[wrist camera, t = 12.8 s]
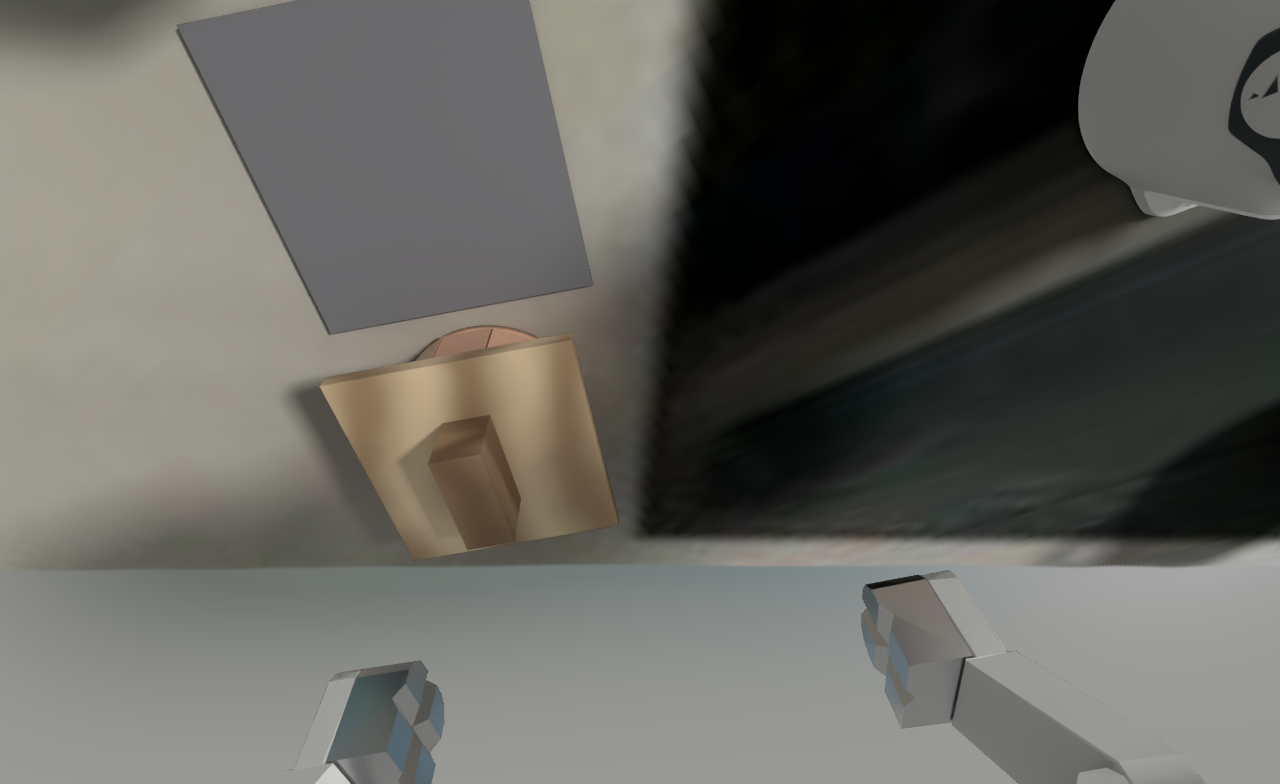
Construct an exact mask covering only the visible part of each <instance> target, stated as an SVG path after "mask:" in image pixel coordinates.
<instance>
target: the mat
mask: <svg viewBox="0 0 1280 784" xmlns="http://www.w3.org/2000/svg"><path fill="white" fill-rule="evenodd" d="M177 27H178V29H179V31H180V33H181V35H182V37H183V39H184V41H185V43H186V45H187V47H188V49H189V51H190V53H191V55H192V57H193V59H194V61H195V63H196V65H197V67H198V69H199V71H200V73H201V75H202V77H203V79H204V81H205V83H206V85H207V87H208V89H209V91H210V93H211V95H212V97H213V99H214V101H215V103H216V105H217V107H218V109H219V111H220V113H221V115H222V117H223V119H224V121H225V123H226V125H227V127H228V129H229V131H230V133H231V135H232V137H233V139H234V141H235V143H236V145H237V147H238V149H239V151H240V153H241V155H242V157H243V159H244V161H245V163H246V165H247V167H248V169H249V171H250V173H251V175H252V177H253V179H254V181H255V183H256V185H257V187H258V189H259V191H260V193H261V195H262V197H263V199H264V201H265V203H266V205H267V207H268V209H269V211H270V213H271V215H272V217H273V219H274V221H275V223H276V225H277V227H278V229H279V231H280V233H281V235H282V237H283V239H284V241H285V243H286V245H287V247H288V249H289V251H290V253H291V255H292V257H293V259H294V261H295V263H296V265H297V267H298V269H299V271H300V273H301V275H302V277H303V279H304V281H305V283H306V285H307V287H308V289H309V291H310V293H311V295H312V297H313V299H314V301H315V303H316V305H317V307H318V309H319V311H320V313H321V315H322V317H323V319H324V321H325V323H326V325H327V327H328V329H329V331H330V333H331V334H333V333H339V332H344V331H350V330H355V329H360V328H366V327H371V326H376V325H382V324H387V323H392V322H398V321H403V320H409V319H414V318H419V317H425V316H430V315H435V314H441V313H446V312H452V311H457V310H462V309H468V308H473V307H478V306H484V305H489V304H494V303H500V302H505V301H511V300H516V299H521V298H527V297H532V296H537V295H543V294H548V293H553V292H559V291H564V290H570V289H575V288H580V287H586V286H591V285H593V283H592V278H591V274H590V269H589V265H588V261H587V256H586V252H585V247H584V243H583V238H582V234H581V229H580V225H579V220H578V216H577V211H576V207H575V203H574V198H573V194H572V189H571V185H570V180H569V176H568V171H567V167H566V162H565V158H564V154H563V149H562V145H561V140H560V136H559V131H558V127H557V122H556V118H555V113H554V109H553V105H552V100H551V96H550V91H549V87H548V82H547V78H546V73H545V69H544V64H543V60H542V56H541V51H540V47H539V42H538V38H537V33H536V29H535V24H534V20H533V15H532V11H531V6H530V2H529V0H297V1H293V2H288V3H283V4H278V5H273V6H268V7H263V8H258V9H253V10H248V11H243V12H239V13H234V14H229V15H224V16H219V17H214V18H209V19H204V20H199V21H194V22H190V23H185V24H180V25H177Z"/></svg>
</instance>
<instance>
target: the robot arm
mask: <svg viewBox="0 0 1280 784" xmlns="http://www.w3.org/2000/svg"><path fill="white" fill-rule="evenodd" d="M1078 116H1079V125H1080V130H1081V134H1082V137H1083V140H1084V143H1085V145H1086V147H1087V149H1088V151H1089V153H1090V154H1091V156H1092V157H1093V159H1094V160H1095V161H1096V162H1097V163H1098V164H1099V165H1100V166H1101V167H1102V168H1103V169H1104V170H1106V171H1107V172H1109V173H1110V174H1112V175H1114V176H1116V177H1117V178H1119V179H1121V180H1122V181H1124V182H1125V183H1126V184H1127V185H1128V186H1129V187H1130V189H1131V191H1132V194H1133V196H1134V198H1135V200H1136V203H1137V204H1138V206H1139V208H1140V209H1141V210H1142V211H1143V212H1144V213H1145V214H1148V215H1152V216H1158V217H1167V216H1171V215H1174V214H1176V213H1179V212H1182V211H1185V210H1188V209H1190V208H1193V207H1196V206H1199V205H1200V206H1204V207H1209V208H1213V209H1218V210H1223V211H1227V212H1232V213H1237V214H1241V215H1246V216H1251V217H1256V218H1261V219H1280V0H1115V2H1114V3H1113V5H1112V7H1111V8H1110V10H1109V12H1108V13H1107V15H1106V17H1105V18H1104V20H1103V22H1102V24H1101V26H1100V28H1099V30H1098V32H1097V34H1096V36H1095V38H1094V41H1093V43H1092V46H1091V48H1090V51H1089V54H1088V56H1087V59H1086V63H1085V66H1084V69H1083V74H1082V78H1081V83H1080V89H1079V99H1078ZM862 599H863V601H864V603H865V605H866V607H867V609H866V610H865V611H864V612H863V613H862V614H861V627H862V632H863V638H864V642H865V645H866V648H867V651H868V654H869V656H870V659H871V661H872V663H873V666H874V667H875V668H876V669H877V670H879V671H880V672H881V673H883V674H884V675H885V676H886V682H885V693H886V695H887V697H888V700H889V702H890V704H891V706H892V708H893V711H894V713H895V715H896V717H897V720H898V722H899V724H900V726H901V728H902V729H903V728H911V727H918V726H925V725H933V724H941V723H948V722H952V725H953V726H954V727H955V728H956V729H957V730H958V731H959V732H960V733H962V734H963V735H964V736H965V737H966V738H967V739H968V740H970V741H971V742H972V743H973V744H974V745H975V746H976V747H978V748H979V749H980V750H981V751H982V752H983V753H984V754H985V755H987V756H988V757H989V758H990V759H991V760H992V761H993V762H994V763H996V764H997V765H998V766H999V767H1000V768H1001V769H1002V770H1004V771H1005V772H1006V773H1007V774H1008V775H1009V776H1010V777H1012V778H1013V779H1014V780H1015V781H1016V782H1017V783H1018V784H1206V783H1205V782H1204V780H1203V779H1202V778H1201V776H1200V775H1199V774H1198V773H1197V772H1196V770H1195V769H1194V768H1193V766H1192V765H1191V764H1190V763H1189V762H1188V760H1187V759H1186V758H1185V757H1184V755H1183V754H1182V753H1180V752H1178V751H1177V750H1175V749H1173V748H1172V747H1170V746H1169V745H1167V744H1166V743H1164V742H1162V741H1161V740H1159V739H1158V738H1156V737H1154V736H1153V735H1151V734H1149V733H1148V732H1146V731H1145V730H1143V729H1142V728H1140V727H1138V726H1137V725H1135V724H1134V723H1132V722H1130V721H1129V720H1127V719H1126V718H1124V717H1122V716H1121V715H1119V714H1118V713H1116V712H1114V711H1113V710H1111V709H1110V708H1108V707H1106V706H1105V705H1103V704H1102V703H1100V702H1098V701H1097V700H1095V699H1093V698H1092V697H1090V696H1088V695H1087V694H1085V693H1084V692H1082V691H1081V690H1079V689H1077V688H1076V687H1074V686H1073V685H1071V684H1069V683H1068V682H1066V681H1065V680H1063V679H1061V678H1060V677H1058V676H1057V675H1055V674H1053V673H1052V672H1050V671H1049V670H1047V669H1045V668H1044V667H1042V666H1041V665H1039V664H1037V663H1036V662H1034V661H1033V660H1031V659H1029V658H1028V657H1026V656H1025V655H1023V654H1021V653H1020V652H1018V651H1007V650H1006V649H1005V647H1004V646H1003V644H1002V643H1001V641H1000V640H999V638H998V637H997V635H996V634H995V632H994V631H993V629H992V628H991V626H990V625H989V623H988V622H987V620H986V619H985V617H984V616H983V614H982V613H981V611H980V610H979V608H978V607H977V606H976V604H975V603H974V601H973V599H972V598H971V596H970V595H969V593H968V592H967V591H966V589H965V588H964V586H963V585H962V583H961V582H960V580H959V579H958V577H957V576H956V575H955V574H954V573H952V572H951V571H941V572H936V573H931V574H926V575H921V576H920V575H914V576H909V577H903V578H898V579H893V580H887V581H882V582H876V583H872V584H866V585H865V586H864V588H863V595H862ZM427 673H428V670H427V669H426V667H425V666H424V664H423V663H422V661H414V662H408V663H401V664H394V665H387V666H381V667H374V668H367V669H360V670H354V671H348V672H342V673H337V674H336V675H335V676H334V677H333V678H332V679H331V681H330V682H329V683H328V685H327V688H326V690H325V693H324V695H323V698H322V700H321V703H320V705H319V708H318V710H317V713H316V715H315V718H314V720H313V723H312V725H311V728H310V730H309V733H308V735H307V738H306V740H305V743H304V745H303V747H302V750H301V752H300V755H299V757H298V760H297V762H296V765H295V767H294V769H290V770H286V771H285V772H284V773H283V774H282V775H281V776H280V777H279V778H278V779H277V780H276V781H275V782H274V783H273V784H431V783H432V778H433V774H434V769H435V763H434V761H433V758H432V756H431V754H430V752H431V751H432V749H433V748H434V747H435V746H436V744H437V743H438V742H439V740H440V739H441V736H442V730H443V725H444V702H443V698H442V694H441V692H440V690H439V688H438V687H437V685H435V684H433V683H431V682H429V681H427V680H426V677H427Z"/></svg>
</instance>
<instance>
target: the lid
mask: <svg viewBox="0 0 1280 784" xmlns="http://www.w3.org/2000/svg"><path fill="white" fill-rule="evenodd" d="M320 388H321V390H322V392H323V394H324V396H325V398H326V399H327V401H328V403H329V405H330V407H331V409H332V410H333V412H334V414H335V416H336V418H337V420H338V422H339V423H340V425H341V427H342V429H343V431H344V433H345V435H346V436H347V438H348V440H349V442H350V444H351V446H352V448H353V449H354V451H355V453H356V455H357V457H358V459H359V461H360V462H361V464H362V466H363V468H364V470H365V472H366V473H367V475H368V477H369V479H370V481H371V483H372V485H373V486H374V488H375V490H376V492H377V494H378V496H379V498H380V499H381V501H382V503H383V505H384V507H385V509H386V511H387V512H388V514H389V516H390V518H391V520H392V522H393V523H394V525H395V527H396V529H397V531H398V533H399V535H400V536H401V538H402V540H403V542H404V544H405V546H406V548H407V549H408V551H409V553H410V555H411V557H412V559H413V561H417V560H422V559H428V558H434V557H440V556H445V555H451V554H457V553H463V552H468V551H474V550H480V549H486V548H491V547H497V546H503V545H509V544H514V543H520V542H526V541H532V540H537V539H543V538H549V537H555V536H560V535H566V534H572V533H578V532H583V531H589V530H595V529H601V528H606V527H612V526H618V525H619V517H618V512H617V508H616V504H615V500H614V496H613V492H612V489H611V485H610V481H609V477H608V473H607V469H606V465H605V461H604V457H603V454H602V450H601V446H600V442H599V438H598V434H597V430H596V426H595V422H594V418H593V415H592V411H591V407H590V403H589V399H588V395H587V391H586V387H585V383H584V379H583V376H582V372H581V368H580V364H579V360H578V356H577V352H576V348H575V344H574V341H573V337H572V333H566V334H560V335H555V336H550V337H544V338H539V339H533V340H528V341H522V342H517V343H511V344H506V345H501V346H495V347H490V348H484V349H479V350H473V351H468V352H463V353H457V354H452V355H446V356H441V357H435V358H430V359H425V360H419V361H414V362H408V363H403V364H397V365H392V366H387V367H381V368H376V369H370V370H365V371H359V372H354V373H348V374H343V375H338V376H332V377H327V378H325V380H324V381H323V382H322V384H321V385H320Z"/></svg>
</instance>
